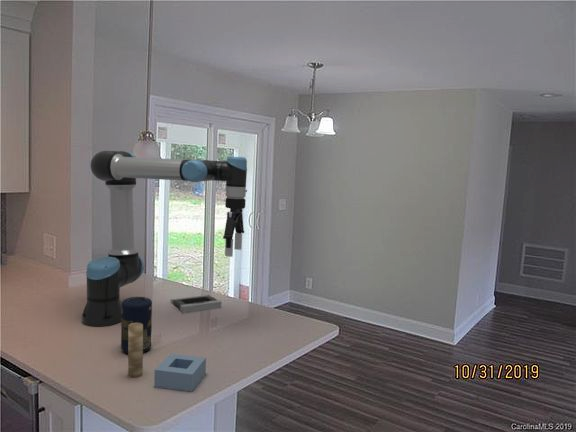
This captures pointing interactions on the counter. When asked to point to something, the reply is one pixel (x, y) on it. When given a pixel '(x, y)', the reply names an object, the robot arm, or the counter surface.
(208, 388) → the counter surface
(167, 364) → the socket block
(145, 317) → the canister
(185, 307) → the gray rectangular tray
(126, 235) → the robot arm
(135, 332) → the dowel
